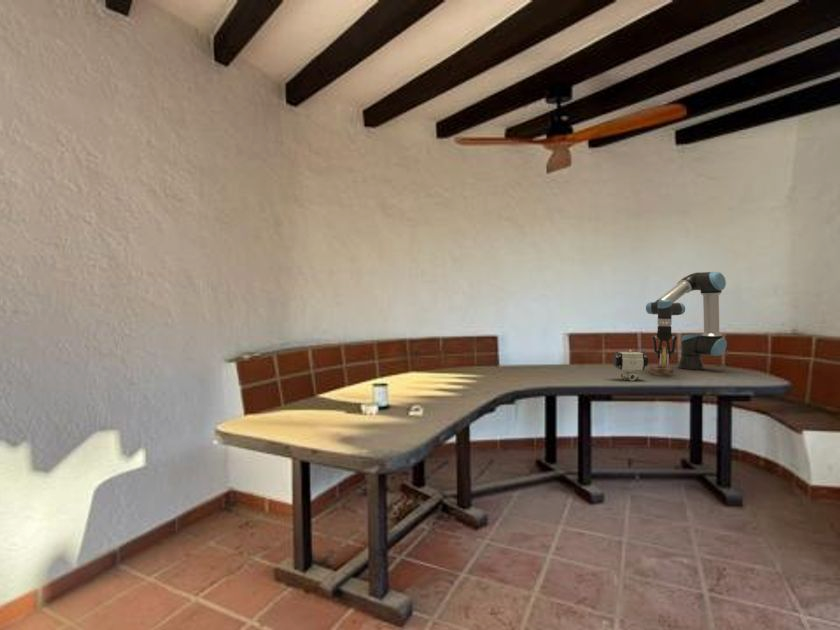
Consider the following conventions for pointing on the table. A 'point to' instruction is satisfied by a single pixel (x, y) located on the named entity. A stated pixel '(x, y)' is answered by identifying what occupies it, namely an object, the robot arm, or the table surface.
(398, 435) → the table surface
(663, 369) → the hole block
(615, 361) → the ball valve
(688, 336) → the robot arm
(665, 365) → the brass peg
